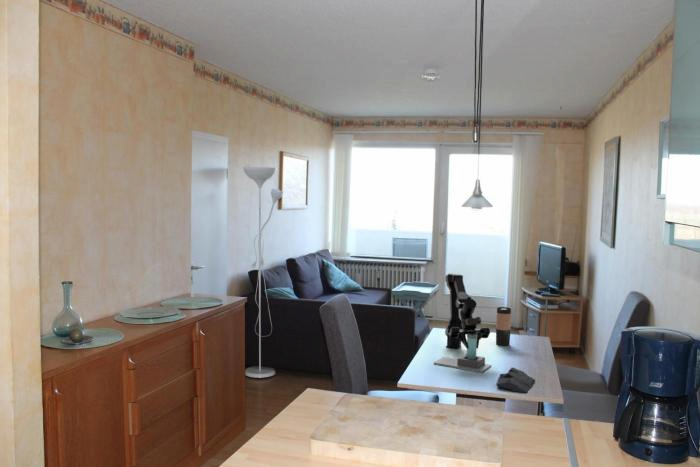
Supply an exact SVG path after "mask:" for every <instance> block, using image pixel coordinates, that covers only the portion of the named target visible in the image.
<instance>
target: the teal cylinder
mask: <svg viewBox="0 0 700 467" xmlns="http://www.w3.org/2000/svg"><path fill="white" fill-rule="evenodd" d="M466 340H467V343H468V349H467V348H466V354H467V359H470V360H476V356H477V334H474V333H468V334H467V335H466Z"/></svg>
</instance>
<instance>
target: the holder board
mask: <svg viewBox="0 0 700 467" xmlns="http://www.w3.org/2000/svg"><path fill="white" fill-rule="evenodd" d="M433 364H434V365H437V366H441V367H442V366H443V367H447V366H448V367H449V368H454V369H459V370H465V371H470V372H476V373H481V374H483V373H484V372H486V371H487V370H489V369H490V368H491V367H492V365H491V364H487V363H486V358H485V356H478V355H476V360H470V359H467V353H465V354H464V353H463V354H462V355H461V356H460V357H458V358H452V357H445V356H442V357H441V358H439V359H437V360H436V361H434V362H433ZM448 367H447V368H448Z"/></svg>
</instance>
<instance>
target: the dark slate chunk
mask: <svg viewBox="0 0 700 467" xmlns="http://www.w3.org/2000/svg"><path fill="white" fill-rule="evenodd" d="M535 383H536V379H534V378H533V377H531V376H529V375H528V374H527V373H526V372H525V371H523V370H520V369H517V368H516V367H510V368H509V369H508V372H506V373H500V374H499V376H498V379H497V382H496V386H497V387H498V388H499V389H505V390H509V391H513V392H517V393H523V394H528V393H529V392H528V391H530V390H531V389H532V388H533V386H534V384H535Z"/></svg>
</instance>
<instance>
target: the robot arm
mask: <svg viewBox="0 0 700 467" xmlns="http://www.w3.org/2000/svg"><path fill="white" fill-rule="evenodd" d="M444 280H445V283H446V287H447V288H448V290H449V312H450V313H449V314H450V318H449V319H448V321H447V324H446V328H445V329H444V330H445V331H444V335H445V336H446V339H447V340H446V345H445V348H447V347H449V348H448V349H456V350H458V349H460V348H461V347H462V344H463V345H464V346H465V348H466V350H467V349H468V343H467V334H468V333H474V334H477V348H476V350H478V349H479V344H480V341H481V340H482V339H487V338H489V336H490V334H491V329H490V328H489V327H480V330H479V329H478V330H477V326H478V325H481V323H482V318H481V317H480V316H476V317H473V314H474V312H475V310H476V307H477V302H476V301H475V299H473V298H472V296H471V295H470V294H468V293H467V291H466V288H465V287H466V286H465V284H464V275H462V274H460V273H447V275H445V278H444ZM459 310H460V311H459Z"/></svg>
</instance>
